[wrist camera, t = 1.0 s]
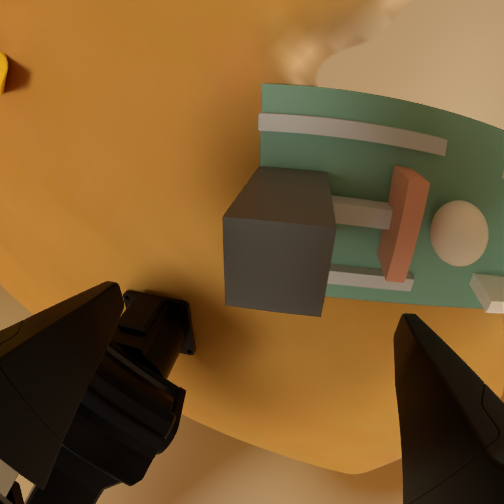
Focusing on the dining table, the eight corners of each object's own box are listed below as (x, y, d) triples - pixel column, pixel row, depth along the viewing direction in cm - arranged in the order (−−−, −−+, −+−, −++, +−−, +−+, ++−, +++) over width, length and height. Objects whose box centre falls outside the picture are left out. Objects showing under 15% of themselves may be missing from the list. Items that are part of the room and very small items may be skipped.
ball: (462, 250, 18) (485, 281, 14) (415, 243, 18) (434, 276, 15) (478, 197, 16) (507, 221, 12) (429, 186, 16) (454, 210, 13)
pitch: (514, 304, 19) (533, 335, 16) (257, 282, 23) (246, 319, 19) (562, 157, 12) (595, 174, 9) (263, 84, 16) (250, 80, 12)
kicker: (393, 255, 19) (424, 341, 12) (257, 241, 20) (226, 322, 13) (411, 168, 16) (471, 220, 9) (259, 149, 17) (222, 189, 10)
